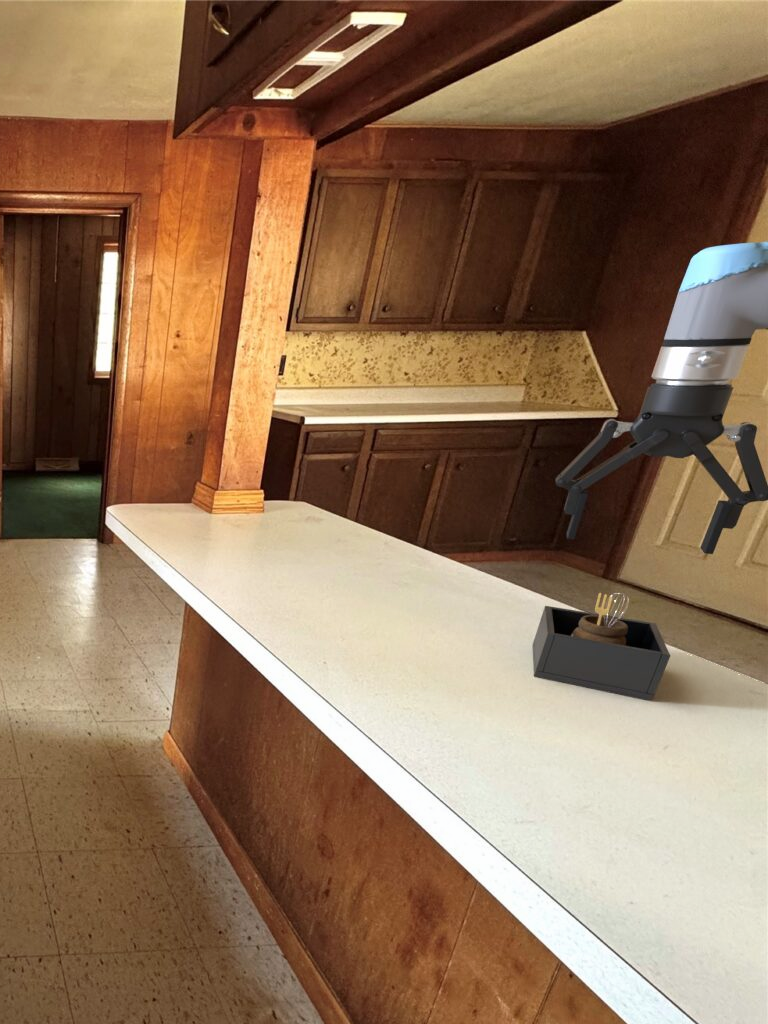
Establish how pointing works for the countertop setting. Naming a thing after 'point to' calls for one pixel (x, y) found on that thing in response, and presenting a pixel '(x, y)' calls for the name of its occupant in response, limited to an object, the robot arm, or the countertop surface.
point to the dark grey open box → (599, 655)
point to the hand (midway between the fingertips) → (635, 544)
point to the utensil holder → (603, 624)
